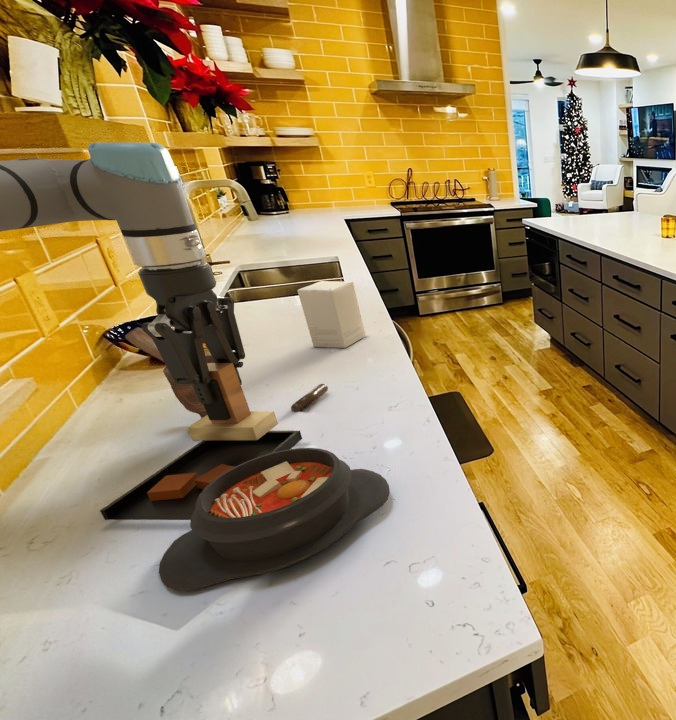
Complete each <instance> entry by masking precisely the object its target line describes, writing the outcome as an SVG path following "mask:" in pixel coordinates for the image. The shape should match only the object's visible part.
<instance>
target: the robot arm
mask: <svg viewBox="0 0 676 720" xmlns="http://www.w3.org/2000/svg"><path fill="white" fill-rule="evenodd" d="M87 152H88V154H89V158H88V159H60V158H59V159H56V158H55V159H53V158H52V159H51V158H36V157H33V158H17V159H16V158H15V159H11V160H10V159H9V160H0V232H6V231H7V232H9V231H14V230H21V229H22V230H23V229H30V228H38V227H43V226H44V227H45V226H50V225H59V224H65V223H72V222H86V221H87V222H89V221H90V222H92V221H116V223H117V225H118V227H119V230H120V232H121V234H122V237H123V239H124V241H125V242H124V243H125V245H126V247H127V250H128V252H129V255H130V258H131V260H132V262H133V265H134V266H137V267H139V268H140V269H139V271H138V272H137V274H138V276H139V278H140V281H141V283H142V286H143V288H144V291H145V293H146V294H147V296H149V297H150V298H152V299H153V300H154V301H155V303H156V304H155V305H156V308H155V312H156V315H157V316H156V317H155V318H154V319H153V320H152V321H151V322H143V323H142V325H141V329H142V330H143V331H144V332H145V333H146V334H147V335H148V336H150V337H151V338H152V339H153V341H154V343H155V345H156V347H157V349H158V351H159V353H160V355H161V357H162V358H163V360H164V362H163V363H164V364H165V367H166V366H167V368H168V370H169V372H170V374H171V376H172V378H173V379H174V381H175V383H176V384H177V385H192V386H193V388H194V390H195V393H196V395H197V398H198V400H199V402H200V403H201V404H203V405H204V407H205V410H206V412H207V415H208V417H209V420H228V419H230V418H231V416H230V414H229V411H228V409H227V406H226V403H225V401H224V398H223V395H222V393H221V390H220V387H219V385H218V382H217V380H211V378H210V373H209V369H208V365H207V361H206V356H205V354H206V353H205V352H206V351H205V348H204V344H205V346H206V348H207V350H208V352H209V354H211V355H212V357H213V359H214V361H215V363H233V365H234V368H235V371H236V373H237V376H238V379H239V382H240V385H241V386H242V384H243V382H242V378H241V375H240V372H239V370H238V369H241V368H243V366H244V362H243V361H241V360H244V359H245V358H246V352H245V349H244V345H243V340H242V338H241V337H242V336H241V333H240V330H239V326H238V322H237V319H236V315H235V299H234V298H233V297H229V296H227V297H226V296H225V297H223V296H222V297H221V296H218V295H217V294H216V292H214V290H213V289H215V288H216V286H217V283H216V280H215V277H214V274H213V269H212V268H211V264H210V263H208V262H207V261H205V260H204V259H205V258H206V257H207V254H206V252H205V249H204V247H203V244H202V240H201V238H200V235H199V232H198V230H197V226H196V224H195V222H194V220H193V217H192V213H191V210H190V206H189V203H188V200H187V197H186V193H185V190H184V187H183V183H182V177H181V176H180V174H179V173H178V170H177V168H176V166H175V164H174V161H173V159H172V157H171V154H170V152H169V150H168V149H167V148H166V147H165V146H164V145H162V144H160V143H157V142H91V143H90V144H88V146H87ZM203 342H204V344H203ZM197 374H198V375H197ZM244 396H245V397H246V395H245V394H244Z"/></svg>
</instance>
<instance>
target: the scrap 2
mask: <svg viewBox="0 0 676 720" xmlns="http://www.w3.org/2000/svg"><path fill="white" fill-rule="evenodd" d="M232 468H234V466H229V465H224V464H221V465H219V466H217V467H216V468H214V469H212V470H210V471H209V472H207V473H205V474H203V475H202V476H200V477H198V478H196V479H195V480H194V481H195V483H196V485H197V488H200V489H204V488H205V487H206V486H208V485H209V484H210V483H211V482H212V481H213V480H215V479H216V478H217V477H219V476H220V475H222V474H223V473H225V472H227V471H229V470H230V469H232Z"/></svg>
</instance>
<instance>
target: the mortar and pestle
mask: <svg viewBox="0 0 676 720" xmlns="http://www.w3.org/2000/svg"><path fill="white" fill-rule="evenodd" d="M124 339H125V340H127V341H128V342H129V343H131V344H132V345H133V346H134V347H136V348H138V349H140V350H142V351H143V352H144V353H147V354H149V355H151V356H153V357H155V358H157V359H158V360H160V361H161V362H163V363H165V362H164V360H163V358H162V357H161V355H160V353H159V351H158V349H157V347H156V345H155V343H154V341H153V339H152V338H151V337H150V336H148V335H147V334H146V333H145V332H144V331H143V330H142V327H139V326H138V327H135V328H133V329H132V330H130V331H129V332H127V334H125V335H124ZM205 356H206V361H207V363H215V361H214V359H213V357H212V355H211V354H210V353H205ZM162 372H163V374H164V376H165V378H166V380H167V382H168V383H169V385H170V388H171V390H172V392H173V395H174V396H175V398H176V399H177V400H178V401H179V403H180V404H181V405H182V406H183V407H184V408H185V410H187V411H188V412H190V413H193V414H197V415H199V417H200V419H201V418H203V417H205V416H206V415H207V412H206V410H205V407H204V405H203V404H201V403H200V402H199V400H198V398H197V395H196V393H195V390H194V388H193V386H192V385H177V384H176V383H175V381H174V379H173V378H172V376H171V374H170V372H169V370H168V368H167V366H166V365H165V367H164V368H163V371H162Z"/></svg>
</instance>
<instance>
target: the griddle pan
mask: <svg viewBox="0 0 676 720" xmlns="http://www.w3.org/2000/svg"><path fill="white" fill-rule="evenodd" d="M328 390H329V386H328V385H327V384H325V383H319V384H318V385H316V386H315V387H313V389H311V390H310V391H308V392H307V393H306V394H305V395H303V396H302V397H300V398H299V399H298V400H297V401H295V402H293V404H292V405H291V407H290V410H291V412H292V413H302V412H303V411H305V410H306V409H307V408H309V406H311V405H312V404H313V403H315V402H316V401H317V400H319V399H320V398H321V397H322V396H323V395H324V394H326V393H327V392H328ZM302 439H303V435H302V433H301V430H270V431H268V432H267V433H266V434H265V435H263V436H262V437H261V438H259V439H258V440H200V441H199V442H198V443H197V444H195V445H194V446H192V447H191V448H189V449H188V450H187V451H185V452H184V453H182V454H181V455H178V456H177V457H176V458H175V459H173V460H171V461H170V462H169V463H168V464H165V466H163V467H162V468H160V469H159V470H157V471H156V472H154V473H153V474H151V475H150V476H148V477H146V478H145V479H144V480H143V481H141V482H140V483H138V484H136V485H135V486H133V487H132V488H130V489H129V490H128V491H126V492H125V493H123V494H122V495H120V496H119V497H117V498H116V499H115V500H113V501H112V502H110V503H109V504H107V505H106V506H105V507H103V508H101V509H100V510H99V512H100V514H101V516H102V518H103V519H104V520H105V521H114V520H115V521H191V517H192V514H193V512H194V510H195V509H196V501H197V499H198V497H199V495H200V493H201V492H202V491H203V490H204V489H200V488H197V485H196V486H195V487H194V488H193V489H192V490H191V491H190V492H189V493H188V494H187V495H185V496H184V497H183V498H177V499H167V500H157V501H151V500H150V498H149V496H148V494H147V492H148V491H149V490H150V489H152V488H153V487H154V486H155V485H156V484H157V483H158V482H159V481H161V480H162V479H163V478H164V477H165V476H166V475H177V474H187V473H197V474H198V476H199V477H200V476H202V475H203V474H205V473H207V472H209V471H210V470H212V469H214V468H216V467H217V466H219V465H221V464H224V465H229V466H234V467H236V466H238V465H240V464H242V463H245V462H247V461H249V460H252V459H255V458H257V457H260V456H263V455H267V454H270V453H274V452H278V451H283V450H289V449H293V447H294V446H296V445H297V444H298V443H300V441H302Z"/></svg>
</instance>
